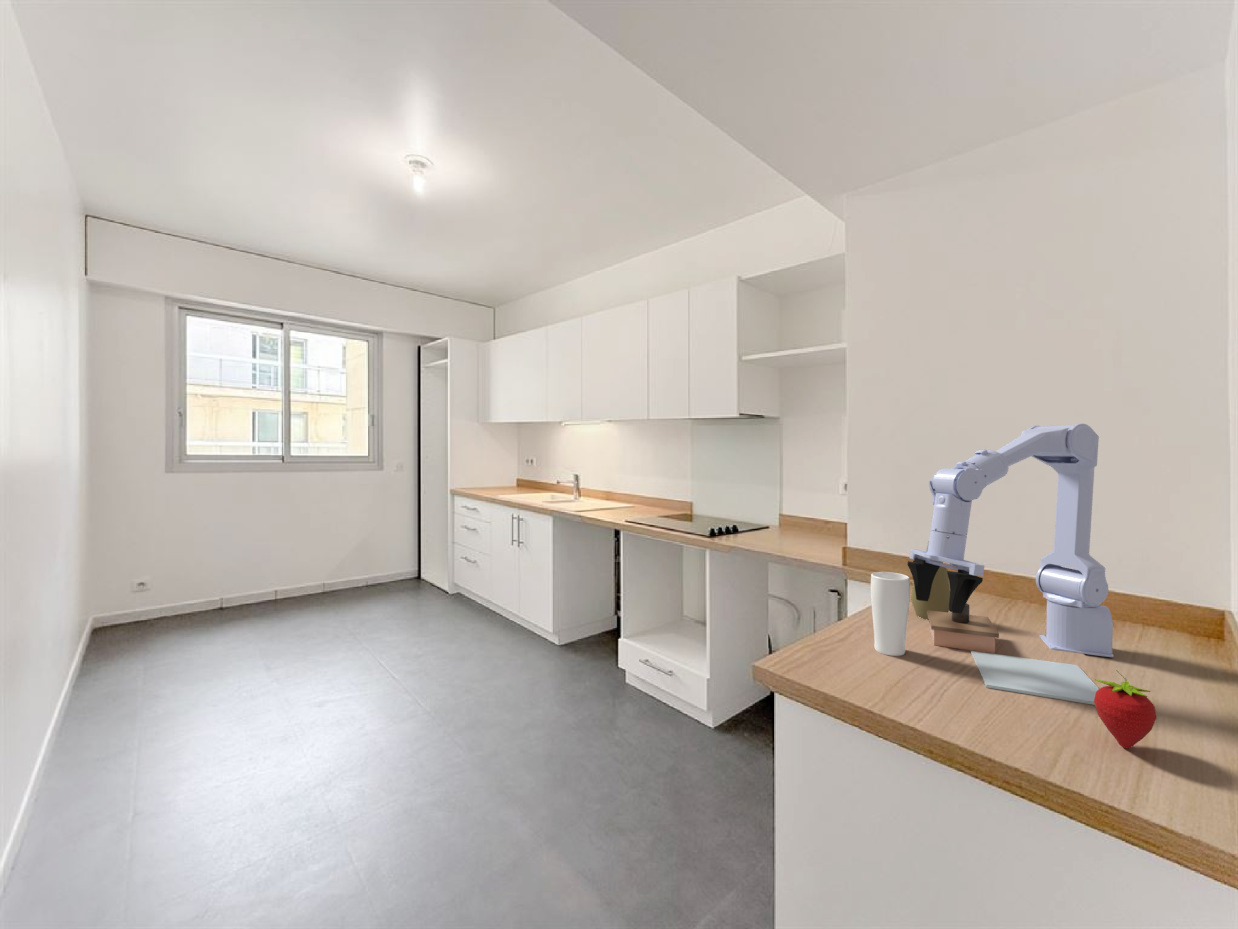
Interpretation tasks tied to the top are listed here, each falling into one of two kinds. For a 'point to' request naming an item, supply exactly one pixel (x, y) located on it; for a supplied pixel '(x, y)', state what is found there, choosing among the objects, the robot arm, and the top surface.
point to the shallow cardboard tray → (963, 641)
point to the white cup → (890, 611)
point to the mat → (1035, 677)
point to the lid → (962, 623)
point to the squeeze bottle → (934, 594)
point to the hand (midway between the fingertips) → (938, 606)
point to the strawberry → (1125, 711)
